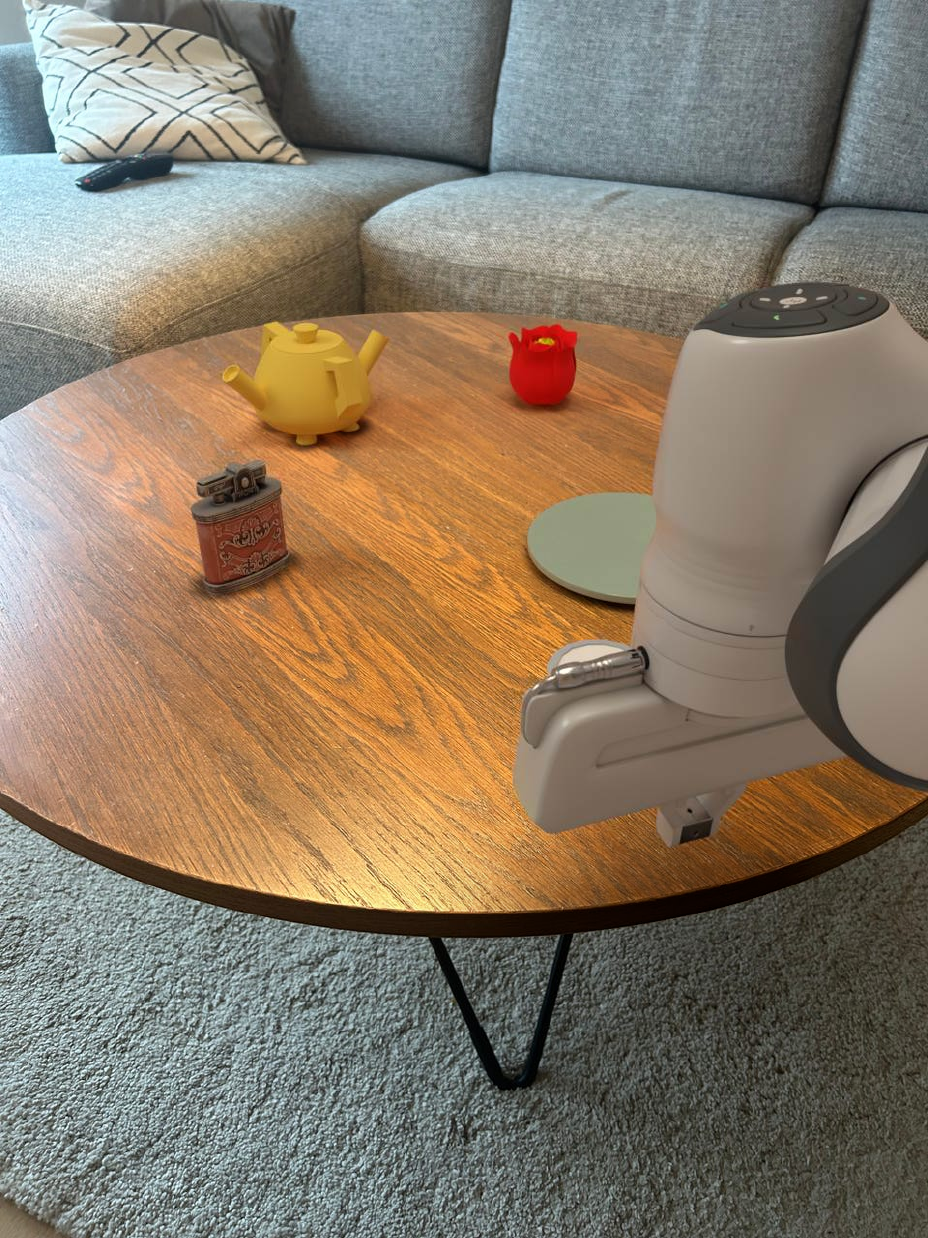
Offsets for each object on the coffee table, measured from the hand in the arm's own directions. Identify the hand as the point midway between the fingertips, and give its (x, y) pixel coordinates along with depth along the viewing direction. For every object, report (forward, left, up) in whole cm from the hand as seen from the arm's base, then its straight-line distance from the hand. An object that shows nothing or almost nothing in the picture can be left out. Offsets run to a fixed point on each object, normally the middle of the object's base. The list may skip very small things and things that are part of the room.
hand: (685, 833), depth 56 cm
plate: (+34, -14, -4) cm, 37 cm away
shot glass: (+12, 0, -4) cm, 12 cm away
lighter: (+42, +18, -4) cm, 45 cm away
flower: (+68, -20, -4) cm, 71 cm away
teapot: (+70, +6, -4) cm, 70 cm away
